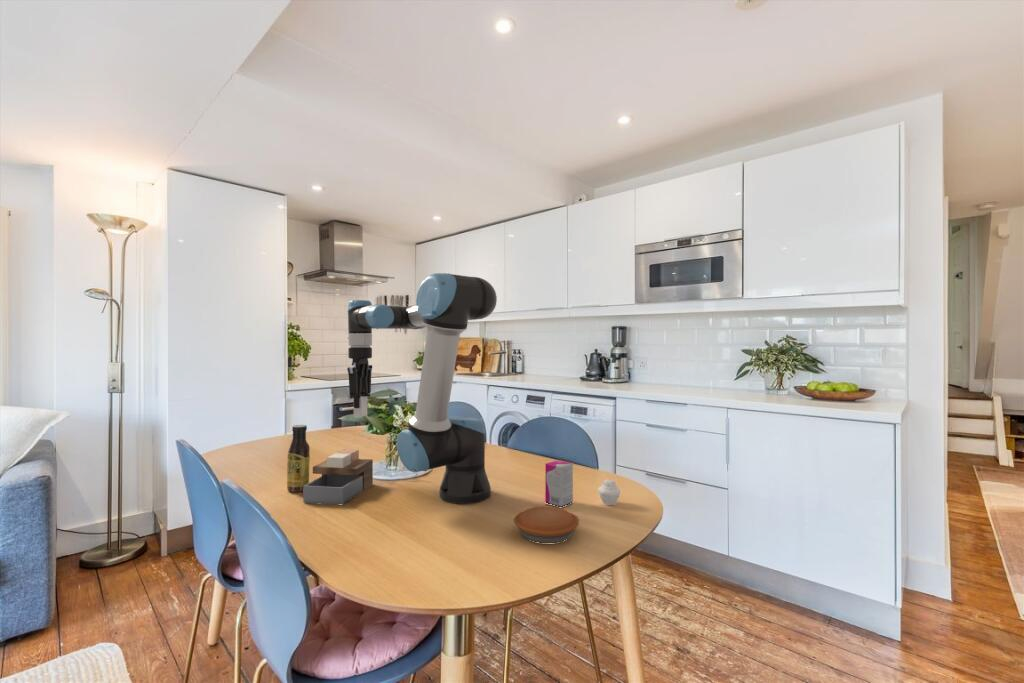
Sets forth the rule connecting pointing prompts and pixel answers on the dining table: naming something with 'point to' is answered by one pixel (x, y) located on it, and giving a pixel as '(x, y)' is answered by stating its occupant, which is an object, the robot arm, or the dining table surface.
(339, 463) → the cream tile
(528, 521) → the pie
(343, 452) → the salmon pink square block
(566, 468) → the supplement box
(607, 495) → the small white jar
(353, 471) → the plate
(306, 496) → the bin
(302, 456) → the sauce bottle
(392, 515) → the dining table surface
